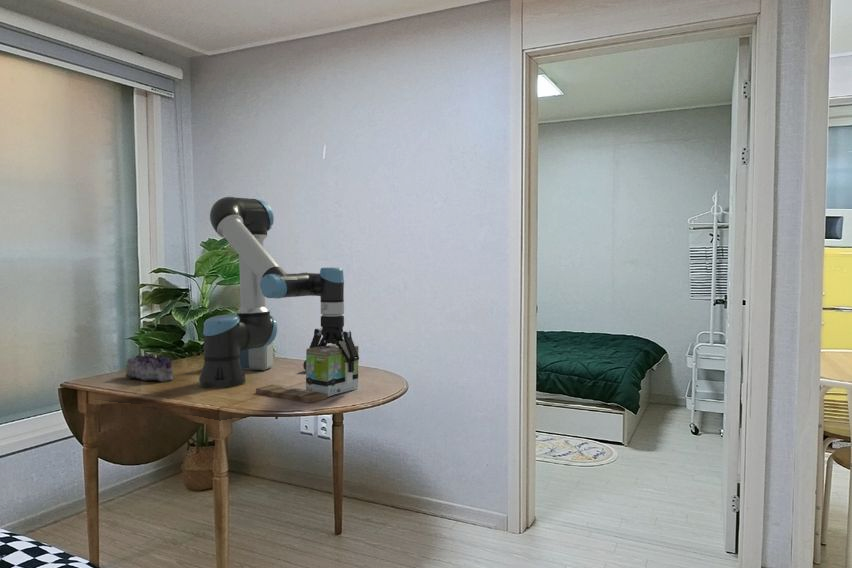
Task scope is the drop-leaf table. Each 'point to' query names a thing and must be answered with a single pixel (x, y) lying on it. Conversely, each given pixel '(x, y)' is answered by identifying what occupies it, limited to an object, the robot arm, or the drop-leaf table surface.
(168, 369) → the geode
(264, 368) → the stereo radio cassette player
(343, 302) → the robot arm
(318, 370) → the tea box
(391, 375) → the drop-leaf table surface
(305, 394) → the walnut plank
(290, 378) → the drop-leaf table surface
